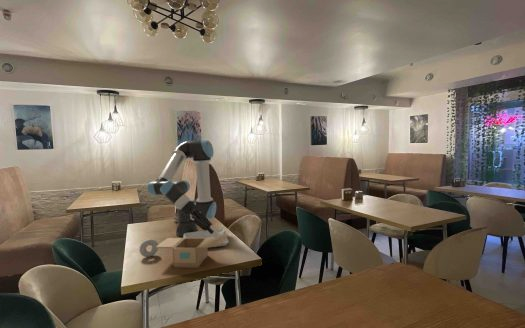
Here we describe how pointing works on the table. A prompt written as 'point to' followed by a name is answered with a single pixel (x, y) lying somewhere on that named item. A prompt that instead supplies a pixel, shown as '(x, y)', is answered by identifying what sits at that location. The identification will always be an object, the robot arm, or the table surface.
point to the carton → (186, 251)
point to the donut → (147, 243)
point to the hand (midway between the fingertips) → (217, 236)
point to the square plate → (206, 236)
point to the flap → (213, 241)
